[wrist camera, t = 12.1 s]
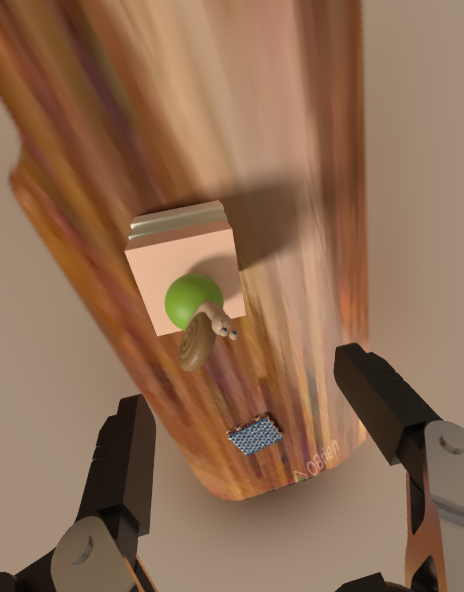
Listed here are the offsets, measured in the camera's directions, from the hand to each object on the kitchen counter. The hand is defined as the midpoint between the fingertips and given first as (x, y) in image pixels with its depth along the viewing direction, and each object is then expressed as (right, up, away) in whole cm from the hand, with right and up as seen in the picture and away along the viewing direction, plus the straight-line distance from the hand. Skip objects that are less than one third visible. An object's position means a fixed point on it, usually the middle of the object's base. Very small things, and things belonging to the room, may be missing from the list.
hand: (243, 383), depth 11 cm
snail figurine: (-4, +5, +16) cm, 17 cm away
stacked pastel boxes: (-7, +10, +26) cm, 29 cm away
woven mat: (+5, -28, +51) cm, 58 cm away
